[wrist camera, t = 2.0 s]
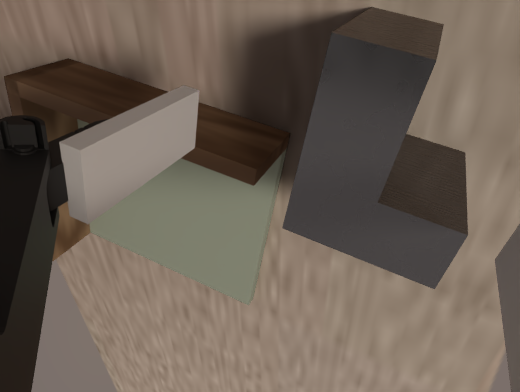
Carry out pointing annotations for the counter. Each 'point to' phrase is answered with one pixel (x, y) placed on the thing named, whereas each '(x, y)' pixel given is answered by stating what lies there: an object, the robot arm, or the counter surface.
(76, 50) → the counter surface
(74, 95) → the walls
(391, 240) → the bracket
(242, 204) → the mat
